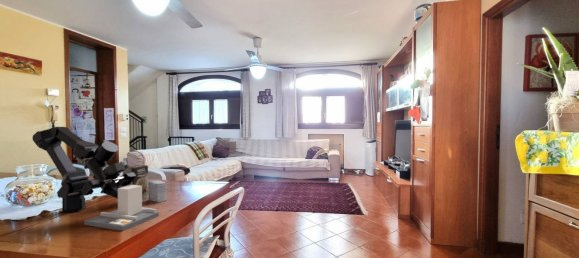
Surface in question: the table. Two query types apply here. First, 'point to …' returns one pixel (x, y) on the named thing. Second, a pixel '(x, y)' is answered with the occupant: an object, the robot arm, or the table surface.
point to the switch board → (121, 219)
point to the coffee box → (139, 178)
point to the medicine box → (157, 191)
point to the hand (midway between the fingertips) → (122, 199)
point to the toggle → (130, 200)
